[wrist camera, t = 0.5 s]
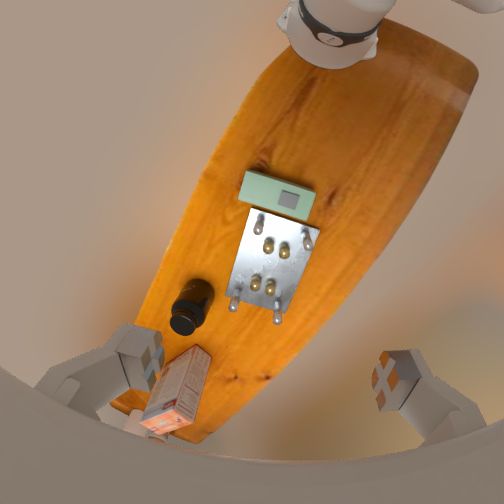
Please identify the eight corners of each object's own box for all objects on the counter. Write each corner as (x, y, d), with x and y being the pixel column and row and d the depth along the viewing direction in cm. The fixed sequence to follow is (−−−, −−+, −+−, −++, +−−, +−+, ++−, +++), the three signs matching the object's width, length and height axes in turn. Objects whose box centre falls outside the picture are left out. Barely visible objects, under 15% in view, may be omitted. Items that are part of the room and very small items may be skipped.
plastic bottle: (180, 409, 75) (163, 458, 57) (175, 417, 78) (159, 463, 59) (162, 401, 75) (142, 449, 56) (158, 410, 77) (139, 455, 59)
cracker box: (181, 376, 69) (158, 436, 49) (164, 363, 67) (137, 422, 48) (214, 357, 64) (194, 424, 45) (196, 342, 63) (170, 409, 44)
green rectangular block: (241, 194, 49) (237, 200, 45) (249, 168, 47) (245, 171, 43) (303, 214, 50) (306, 222, 45) (312, 189, 48) (316, 194, 43)
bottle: (128, 410, 81) (98, 472, 53) (138, 407, 79) (108, 473, 51) (144, 422, 83) (118, 483, 55) (155, 419, 80) (130, 485, 53)
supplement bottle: (190, 272, 56) (170, 303, 45) (219, 287, 57) (206, 321, 45) (180, 297, 58) (160, 329, 47) (207, 311, 59) (193, 346, 48)
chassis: (251, 206, 50) (247, 216, 43) (318, 228, 50) (324, 241, 43) (225, 292, 57) (219, 312, 50) (285, 310, 57) (285, 331, 51)
